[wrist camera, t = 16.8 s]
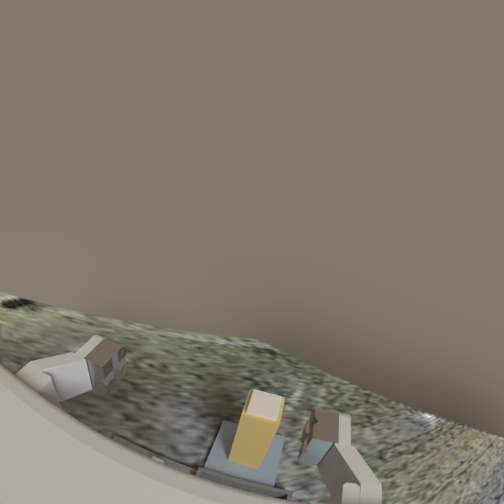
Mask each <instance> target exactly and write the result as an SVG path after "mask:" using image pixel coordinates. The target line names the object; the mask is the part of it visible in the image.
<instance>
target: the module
mask: <svg viewBox="0 0 504 504" xmlns="http://www.w3.org/2000/svg"><path fill="white" fill-rule="evenodd" d="M284 401H285V398H283V397H281V396H277V395H274V394H270V393H266V392H262V391H259V390H255V389H254V390H252V389H250V391H249V394H248V397H247V400H246V403H245V406H244V408H243V411H242V414H241V418H240V421H239V425H238V428H237V431H236V435H235V438H234V442H233V445H232V448H231V452H230V455H229V458H228V461H232V462H235V463H239V464H242V465H246V466H250V467H254V468H258V469H259V467H260V465H261V463H262V461H263V459H264V457H265V455H266V452H267V450H268V448H269V446H270V444H271V442H272V440H273V438H274V435H275V433H276V431H277V429H278V427H279V424H280V420H281V415H282V411H283V406H284Z"/></svg>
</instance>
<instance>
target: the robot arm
mask: <svg viewBox="0 0 504 504" xmlns="http://www.w3.org/2000/svg"><path fill="white" fill-rule="evenodd" d="M125 355H126V348H124V347H122V346H120V345H118V344H116V343H114V342H112V341H110V340H108V339H106V338H103V337H101V336H99V335H94V336H93V337H92V338H91V339H90V340H89V341H87V342H86V343H85V344H84V345H83V346H82V347H81V348H80V349H79V350H78V351H76V352H75V353H74V352H70V353H65V354H61V355H57V356H52V357H48V358H43V359H39V360H34V361H30V362H29V363H28V364H26V365H25V366H24V367H23V368H22V369H21V370H19V371H18V372H17V373H16V374H15V375H13V374H12V373H11V372H9V371H8V370H7V369H6V368H5V367H3V366H2V365H1V364H0V504H309V503H302V502H296V501H290V500H285V499H280V498H275V497H270V496H265V495H261V494H256V493H252V492H248V491H244V490H240V489H237V488H233V487H230V486H226V485H223V484H219V483H216V482H213V481H210V480H207V479H204V478H201V477H198V476H195V475H192V474H189V473H187V472H184V471H181V470H179V469H176V468H173V467H171V466H168V465H166V464H163V463H161V462H159V461H156V460H154V459H152V458H149V457H147V456H145V455H143V454H141V453H138V452H136V451H134V450H132V449H130V448H128V447H126V446H124V445H122V444H120V443H118V442H116V441H114V440H112V439H110V438H108V437H106V436H105V435H103V434H101V433H99V432H97V431H95V430H94V429H92V428H90V427H88V426H87V425H85V424H83V423H82V422H80V421H78V420H77V419H75V418H73V417H72V416H70V415H69V414H67V413H66V412H64V411H63V409H62V406H61V403H60V402H62V401H65V400H67V399H70V398H72V397H75V396H77V395H80V394H82V393H84V392H87V391H89V390H92V388H93V389H95V390H97V391H99V392H101V393H103V394H105V395H107V396H108V395H109V394H110V393H111V392H112V391H113V389H114V388H115V387H116V383H115V382H117V381H120V380H122V378H123V377H124V376H125V373H126V371H127V361H126V359H125V358H124V357H125ZM301 442H302V443H303V444H302V446H301V447H300V449H299V456H298V462H302V463H307V464H312V465H317V467H318V470H319V472H320V474H321V476H322V478H323V480H324V482H325V484H326V486H327V488H328V490H329V493H330V495H331V497H330V498H329V499H328V500H327V501H326V502H325V503H324V504H382V484H381V483H380V482H379V480H378V479H377V478H376V476H375V475H374V473H373V472H372V471H371V469H370V468H369V467H368V465H367V464H366V462H365V461H364V460H363V458H362V457H361V455H360V454H359V453H358V451H357V450H356V448H355V447H354V446H351V417H350V415H348V414H342V413H337V412H331V411H326V410H321V409H316V408H314V409H313V411H312V412H311V416H310V419H309V420H307V422H306V424H305V426H304V429H303V432H302V437H301Z"/></svg>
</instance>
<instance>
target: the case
mask: <svg viewBox="0 0 504 504" xmlns="http://www.w3.org/2000/svg"><path fill="white" fill-rule="evenodd" d="M112 440H114V441H116V442H118V443H120V444H122V445H124V446H126V447H128V448H130V449H132V450H134V451H136V452H138V453H141V454H143V455H145V456H147V457H149V458H152V459H154V460H156V461H159V462H161V463H163V464H166V465H168V466H171V467H173V468H176V469H179V470H181V471H184V472H187V473H189V474H192V475H195V476H198V477H202V478H206V479H209V480H212V481H215V482H218V483H221V484H225V485H228V486H232V487H235V488H239V489H243V490H247V491H251V492H255V493H259V494H264V495H268V496H273V497H278V498H283V499H285V500H290V501H291V499H292V494H293V491H289V490H284V489H279V488H274V487H269V486H265V485H260V484H256V483H252V482H248V481H244V480H241V479H237V478H233V477H230V476H226V475H223V474H220V473H216V472H213V471H210V470H207V469H204V468H201V467H199V468H198V470H196V469H194V468H191V467H188V466H185V465H183V464H180V463H177V462H175V461H172V460H170V459H167V458H165V457H162V456H160V455H158V454H155V453H153V452H151V451H148V450H146V449H144V448H142V447H139V446H137V445H135V444H133V443H131V442H129V441H127V440H125V439H123V438H121V437H119V436H117V435H114V436H113V438H112Z"/></svg>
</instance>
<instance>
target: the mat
mask: <svg viewBox="0 0 504 504" xmlns="http://www.w3.org/2000/svg"><path fill="white" fill-rule="evenodd" d="M238 425H239V424H235V423H232V422H229V421H225V420H223V422H222V425H221V427H220V430H219V432H218V435H217V437H216V439H215V442H214V444H213V447H212V449H211V452H210V454H209V456H208V459H207V461H206V463H205V466H204V469H207V470H210V471H213V472H216V473H220V474H223V475H226V476H230V477H233V478H237V479H241V480H244V481H248V482H252V483H256V484H260V485H265V486H269V487H274V484H275V480H276V475H277V471H278V466H279V462H280V457H281V453H282V448H283V443H284V438H285V436H281V435H276V434H275V435H274V438H273V440H272V442H271V444H270V446H269V448H268V450H267V452H266V455H265V457H264V459H263V461H262V463H261V465H260V467H259V469H258V468H254V467H250V466H246V465H242V464H239V463H235V462H232V461H228V458H229V455H230V452H231V448H232V445H233V442H234V438H235V435H236V431H237V428H238Z"/></svg>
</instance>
